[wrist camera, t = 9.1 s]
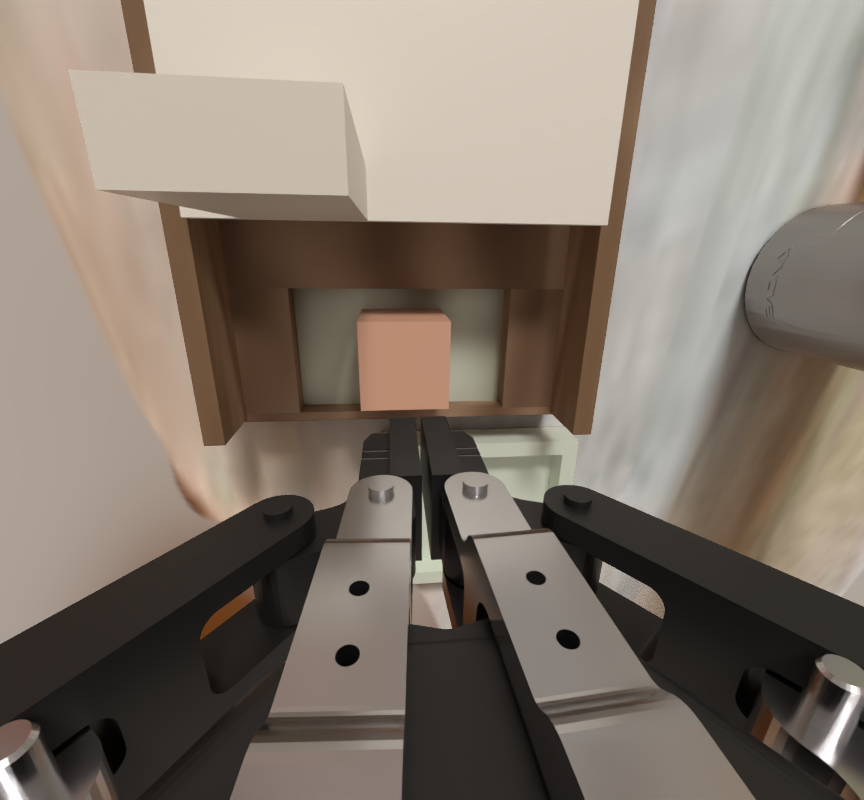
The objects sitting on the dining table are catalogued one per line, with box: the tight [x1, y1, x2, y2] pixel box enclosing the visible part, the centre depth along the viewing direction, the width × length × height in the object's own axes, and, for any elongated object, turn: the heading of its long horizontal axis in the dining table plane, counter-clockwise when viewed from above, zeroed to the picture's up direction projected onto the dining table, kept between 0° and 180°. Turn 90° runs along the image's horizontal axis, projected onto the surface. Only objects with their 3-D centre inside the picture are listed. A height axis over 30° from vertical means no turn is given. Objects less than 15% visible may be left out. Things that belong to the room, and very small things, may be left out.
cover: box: [68, 0, 639, 226], centre depth 12 cm, size 18×8×10 cm, turn 89°
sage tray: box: [380, 427, 579, 584], centre depth 30 cm, size 13×11×2 cm
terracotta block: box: [357, 309, 451, 411], centre depth 23 cm, size 4×4×4 cm
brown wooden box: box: [121, 0, 656, 446], centre depth 22 cm, size 20×20×6 cm
